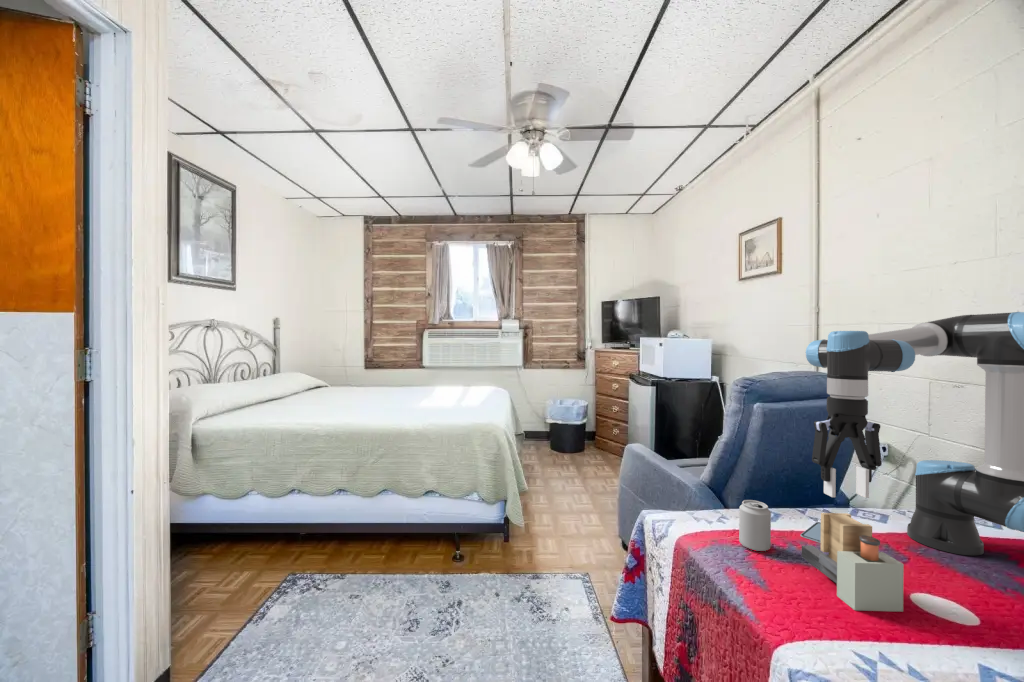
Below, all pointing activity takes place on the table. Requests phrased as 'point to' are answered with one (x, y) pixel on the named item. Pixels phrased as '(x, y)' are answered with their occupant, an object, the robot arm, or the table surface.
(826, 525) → the carriage
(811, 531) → the smartphone
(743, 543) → the can
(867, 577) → the grey hollow block
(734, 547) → the table surface
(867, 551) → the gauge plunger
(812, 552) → the rail
